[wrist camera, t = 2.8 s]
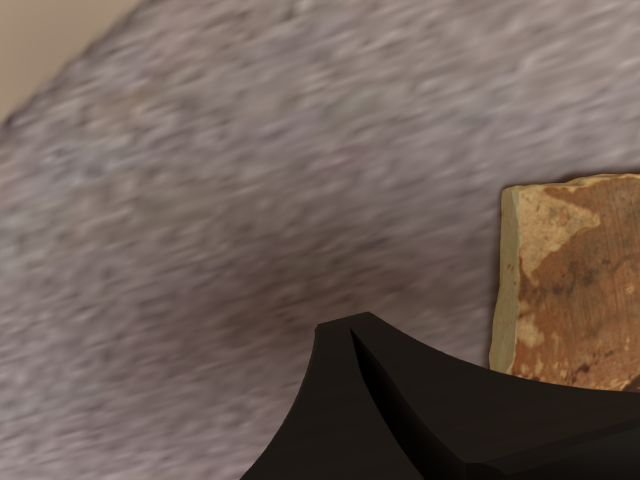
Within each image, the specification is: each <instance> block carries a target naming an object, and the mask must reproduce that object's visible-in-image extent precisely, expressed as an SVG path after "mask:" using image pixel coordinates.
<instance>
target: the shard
mask: <svg viewBox="0 0 640 480" xmlns="http://www.w3.org/2000/svg"><path fill="white" fill-rule="evenodd" d="M501 212H502V221H501V240H500V288H499V292H498V299H497V303H496V308H495V313H494V320H493V326H492V328H493V332H492V344H491V348H490V353H489V363H490V370H494V371H497V372H501V373H505V374H509V375H513V376H518V377H522V378H526V379H531V380H536V381H541V382H547V383H552V384H559V385H566V386H573V387H580V388H588V389H600V390H614V391H628V392H640V174H628V173H626V174H599V175H594V176H588V177H581V178H577V179H573V180H571V181H569V182H566V183H550V184H542V185H537V184H536V185H533V184H530V185H527V186H520V185H517V186H513V187H509V188H506V189H504V190H503V191H502V203H501Z"/></svg>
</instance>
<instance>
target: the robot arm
mask: <svg viewBox="0 0 640 480" xmlns="http://www.w3.org/2000/svg"><path fill="white" fill-rule="evenodd" d="M240 480H640V392H628V391H614V390H600V389H588V388H580V387H573V386H566V385H559V384H552V383H547V382H541V381H536V380H531V379H526V378H522V377H518V376H513V375H509V374H505V373H501V372H497V371H494V370H490V369H487V368H483V367H481V366H478V365H475V364H472V363H469V362H466V361H463V360H460V359H457V358H455V357H452V356H450V355H447V354H445V353H443V352H441V351H439V350H436V349H434V348H432V347H430V346H428V345H426V344H424V343H422V342H420V341H418V340H416V339H414V338H412V337H410V336H408V335H407V334H405V333H403V332H401V331H400V330H398V329H396V328H395V327H393V326H391V325H390V324H388V323H386V322H385V321H383V320H382V319H380V318H378V317H377V316H375V315H374V314H372V313H370V312H369V311H368V312H364V313H360V314H356V315H353V316H349V317H345V318H341V319H337V320H333V321H329V322H325V323H321V324H318V325H317V327H316V328H315V339H314V346H313V350H312V355H311V358H310V361H309V365H308V368H307V372H306V374H305V377H304V379H303V382H302V385H301V387H300V390H299V392H298V395H297V397H296V399H295V401H294V403H293V405H292V407H291V409H290V411H289V413H288V415H287V416H286V418H285V420H284V422H283V424H282V425H281V427H280V428H279V430H278V431H277V433H276V434H275V436H274V438H273V439H272V441H271V442H270V444H269V445H268V447H267V448H266V449H265V451H264V452H263V453H262V454H261V456H260V457H259V458H258V459H257V460H256V462H255V463H254V464H253V465H252V466H251V468H250V469H249V470H248V471H247V472H246V473H245V474H244V475H243V476H242V477H241V479H240Z"/></svg>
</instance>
